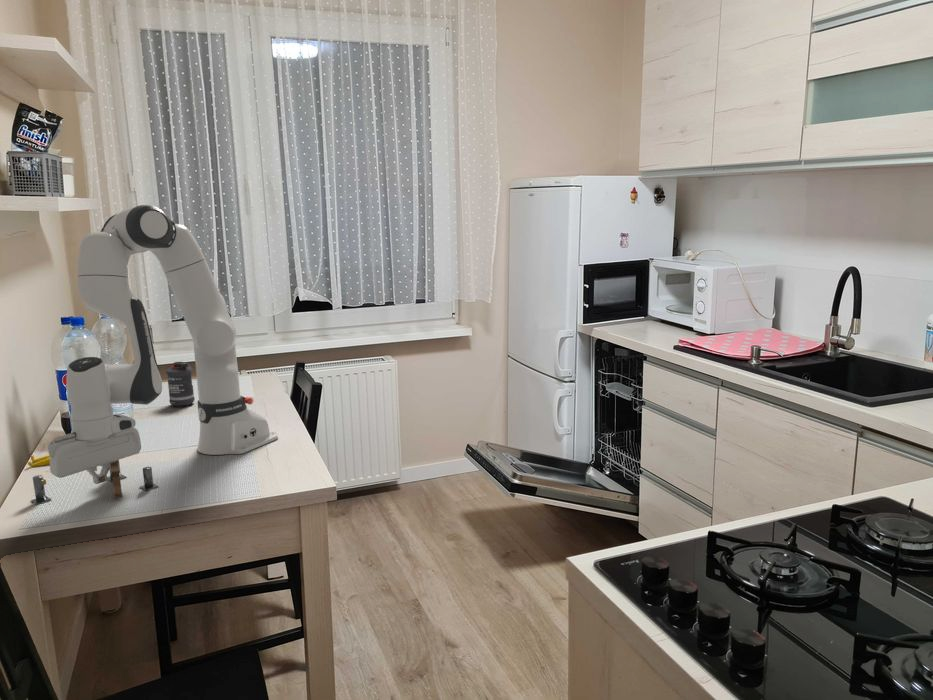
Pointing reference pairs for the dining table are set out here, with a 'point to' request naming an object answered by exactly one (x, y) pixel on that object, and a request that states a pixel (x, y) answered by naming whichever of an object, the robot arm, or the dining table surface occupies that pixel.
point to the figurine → (40, 461)
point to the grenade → (180, 384)
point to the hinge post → (119, 472)
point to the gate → (116, 479)
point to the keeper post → (148, 479)
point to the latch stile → (39, 490)
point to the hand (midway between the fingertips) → (100, 482)
